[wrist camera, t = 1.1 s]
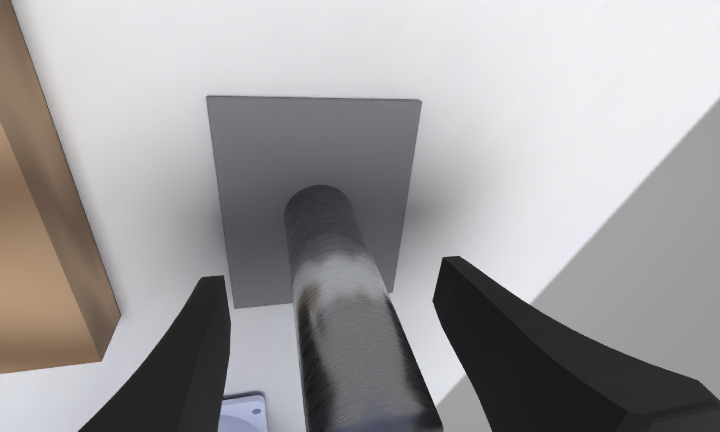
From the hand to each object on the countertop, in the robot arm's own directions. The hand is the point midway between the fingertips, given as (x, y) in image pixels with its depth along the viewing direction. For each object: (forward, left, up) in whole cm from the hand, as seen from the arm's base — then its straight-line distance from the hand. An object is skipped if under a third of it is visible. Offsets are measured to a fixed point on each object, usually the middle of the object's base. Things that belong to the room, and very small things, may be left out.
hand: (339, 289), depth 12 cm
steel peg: (0, 0, -5) cm, 5 cm away
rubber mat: (0, 0, -5) cm, 5 cm away
